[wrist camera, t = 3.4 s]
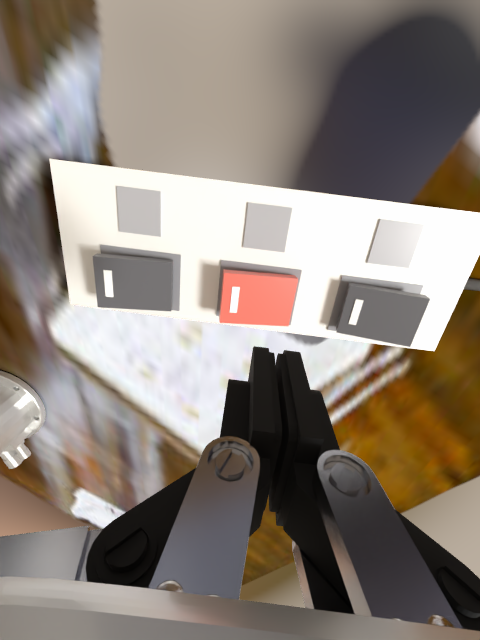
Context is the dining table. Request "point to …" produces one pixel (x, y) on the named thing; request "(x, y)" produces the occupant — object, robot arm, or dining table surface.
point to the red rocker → (257, 298)
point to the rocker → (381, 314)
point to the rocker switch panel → (263, 243)
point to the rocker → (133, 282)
